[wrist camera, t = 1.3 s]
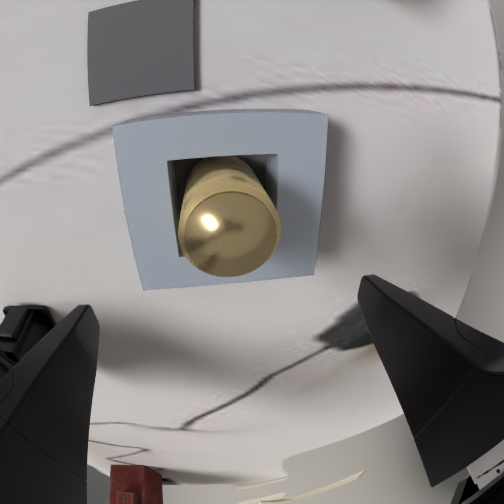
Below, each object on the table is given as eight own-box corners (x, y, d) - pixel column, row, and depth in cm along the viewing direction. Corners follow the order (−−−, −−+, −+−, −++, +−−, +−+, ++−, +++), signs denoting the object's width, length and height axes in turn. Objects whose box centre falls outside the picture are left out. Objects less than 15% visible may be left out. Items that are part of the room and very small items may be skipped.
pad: (194, 89, 16) (194, 89, 16) (91, 105, 15) (89, 105, 15) (193, -5, 13) (193, -7, 12) (90, 13, 12) (88, 12, 11)
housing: (299, 250, 24) (313, 274, 21) (149, 262, 22) (143, 290, 19) (308, 110, 18) (328, 114, 15) (127, 120, 16) (112, 126, 13)
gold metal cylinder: (257, 218, 22) (280, 277, 15) (189, 223, 21) (184, 285, 15) (257, 152, 19) (285, 184, 13) (182, 156, 18) (171, 192, 12)
